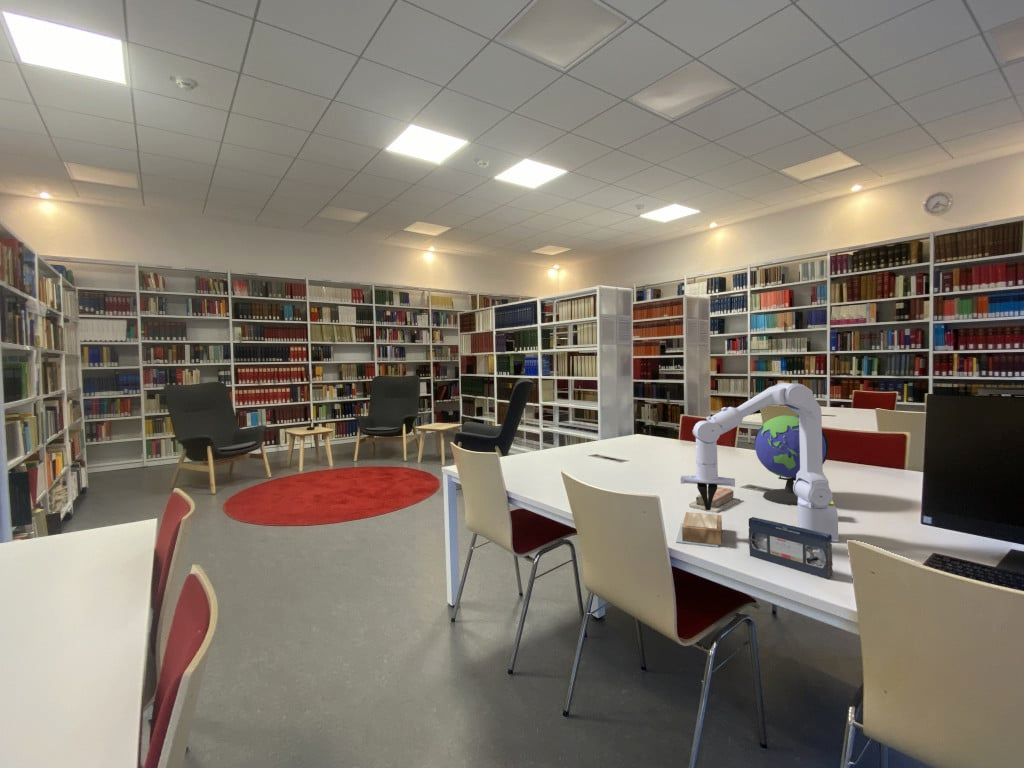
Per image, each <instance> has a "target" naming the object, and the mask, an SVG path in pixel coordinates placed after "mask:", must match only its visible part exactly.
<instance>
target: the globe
mask: <svg viewBox="0 0 1024 768" xmlns="http://www.w3.org/2000/svg"><path fill="white" fill-rule="evenodd" d="M753 445H754V447H753V448H754V451H755V452H756V453H755V454H756V456H757V458H758V460H759V462H760V463H761V465H763V466H764V468H765V469H766V470H767V471H768V472H771V473H772V474H774V475H777V476H778V477H777V478H778V479H779V480H784V481H786V482H785V487H784V488H775V489H769V490H767V491H765V492H763V495H762V497H763V499H765V500H766V501H768V502H772V503H776V504H779V505H786V506H797V507H798V496H796V495H795V493H794V491H793V485H794V483H795V481H796V474H797V473H798V471H799V470H800V437H799V415H798V414H797V416H796V415H786V414H785V415H777V416H775V417H773V418H771V419H768V420H766V421H765V422H764V423H763V424H762V425H761V426H760V427H759V429H758V430H757V432H756V434H755V437H754V443H753ZM829 448H830V445H829V438H828V436H827V434H826V432H825V431H824V430H823V429H822V466H823V465H824V464H825V463H826V460H827V458H828V455H829V450H830V449H829Z"/></svg>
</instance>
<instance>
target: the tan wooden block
mask: <svg viewBox="0 0 1024 768" xmlns="http://www.w3.org/2000/svg"><path fill="white" fill-rule="evenodd" d="M722 516H723V515H722V514H715V513H713V514H712V513H702V512H699V513H698V512H688V511H686V512H685V515H684V518H683V522H682V523H683V525H682V541H687V542H696V543H705V544H714V545H719V546H722V533H723V531H722V530H723V525H722V524H723V522H722V520H723V519H722Z"/></svg>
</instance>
